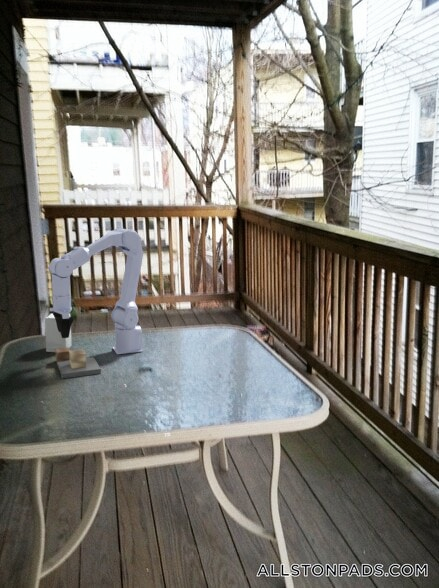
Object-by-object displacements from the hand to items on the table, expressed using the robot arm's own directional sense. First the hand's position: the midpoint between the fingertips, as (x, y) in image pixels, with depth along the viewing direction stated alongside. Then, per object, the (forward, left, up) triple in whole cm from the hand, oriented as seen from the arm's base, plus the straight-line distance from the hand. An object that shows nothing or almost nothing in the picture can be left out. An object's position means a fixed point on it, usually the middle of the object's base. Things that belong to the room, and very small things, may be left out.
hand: (63, 334), depth 176 cm
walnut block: (0, -1, -10) cm, 10 cm away
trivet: (-3, +8, -10) cm, 13 cm away
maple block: (-3, +8, -8) cm, 12 cm away
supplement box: (0, -16, -10) cm, 19 cm away
